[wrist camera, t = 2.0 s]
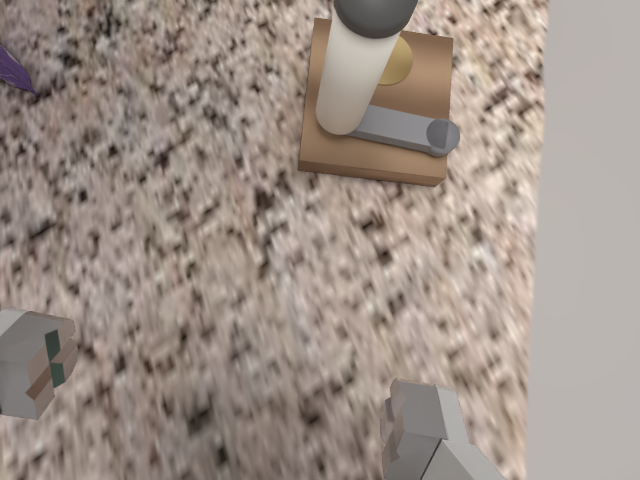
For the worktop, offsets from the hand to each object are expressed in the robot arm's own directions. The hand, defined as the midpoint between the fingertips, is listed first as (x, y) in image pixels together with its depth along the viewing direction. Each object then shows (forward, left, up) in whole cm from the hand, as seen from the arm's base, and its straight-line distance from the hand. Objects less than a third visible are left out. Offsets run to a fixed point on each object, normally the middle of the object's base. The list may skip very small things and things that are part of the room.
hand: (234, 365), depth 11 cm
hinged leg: (-16, +7, -20) cm, 27 cm away
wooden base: (-19, +7, -23) cm, 30 cm away
